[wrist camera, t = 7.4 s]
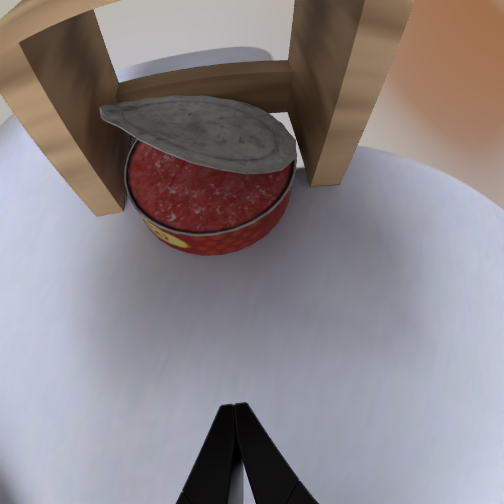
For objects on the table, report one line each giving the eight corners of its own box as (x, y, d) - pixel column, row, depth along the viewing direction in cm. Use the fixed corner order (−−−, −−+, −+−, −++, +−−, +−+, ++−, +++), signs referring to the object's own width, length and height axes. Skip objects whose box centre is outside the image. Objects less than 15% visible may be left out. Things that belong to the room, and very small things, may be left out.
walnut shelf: (339, 184, 19) (420, -18, 6) (96, 216, 18) (-28, 48, 5) (307, 99, 22) (335, -60, 9) (110, 125, 21) (50, -21, 8)
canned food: (160, 200, 24) (114, 88, 17) (279, 166, 23) (255, 45, 17) (148, 311, 15) (46, 143, 8) (334, 261, 15) (317, 57, 8)
